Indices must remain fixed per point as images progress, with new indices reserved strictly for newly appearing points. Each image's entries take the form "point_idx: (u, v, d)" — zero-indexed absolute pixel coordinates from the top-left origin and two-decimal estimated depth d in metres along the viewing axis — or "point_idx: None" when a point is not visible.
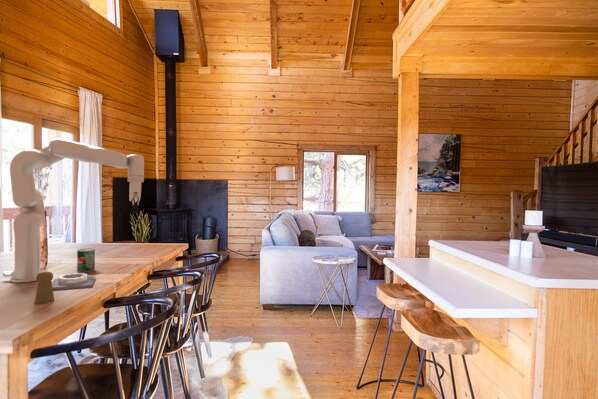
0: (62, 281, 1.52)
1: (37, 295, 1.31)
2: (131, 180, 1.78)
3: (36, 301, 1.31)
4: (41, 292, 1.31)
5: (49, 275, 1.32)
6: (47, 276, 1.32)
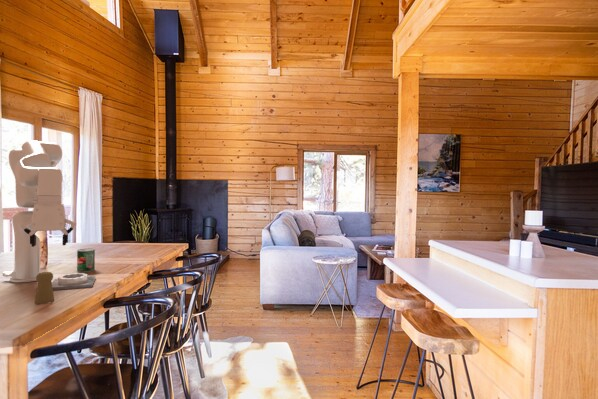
0: (62, 281, 1.52)
1: (37, 295, 1.31)
2: (58, 203, 1.34)
3: (36, 301, 1.31)
4: (41, 292, 1.31)
5: (49, 275, 1.32)
6: (47, 276, 1.32)
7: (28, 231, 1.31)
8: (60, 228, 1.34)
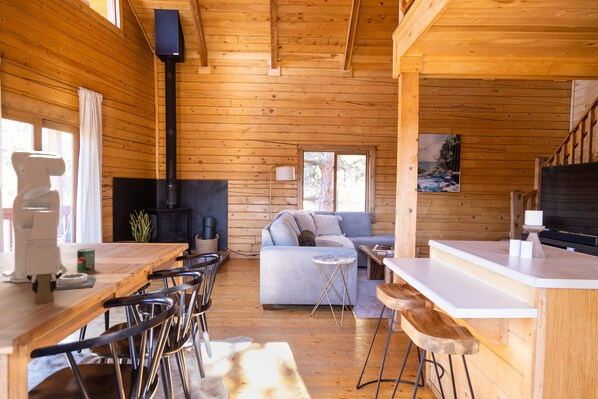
0: (62, 281, 1.52)
1: (37, 295, 1.31)
2: (53, 246, 1.32)
3: (36, 301, 1.31)
4: (41, 292, 1.31)
5: (49, 275, 1.32)
6: (47, 276, 1.32)
7: (30, 278, 1.31)
8: (55, 271, 1.32)
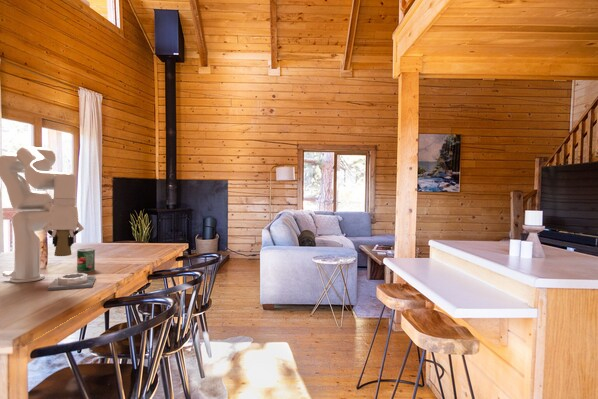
0: (62, 281, 1.52)
1: (56, 248, 1.46)
2: (72, 205, 1.47)
3: (56, 254, 1.46)
4: (60, 246, 1.46)
5: (67, 231, 1.47)
6: (65, 231, 1.47)
7: (51, 233, 1.46)
8: (73, 228, 1.47)
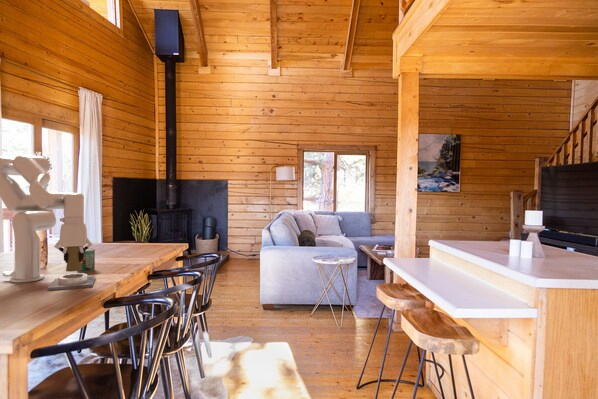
0: (62, 281, 1.52)
1: (68, 264, 1.55)
2: (81, 223, 1.56)
3: (67, 269, 1.55)
4: (71, 262, 1.55)
5: (77, 247, 1.56)
6: (76, 248, 1.56)
7: (62, 250, 1.55)
8: (83, 244, 1.56)
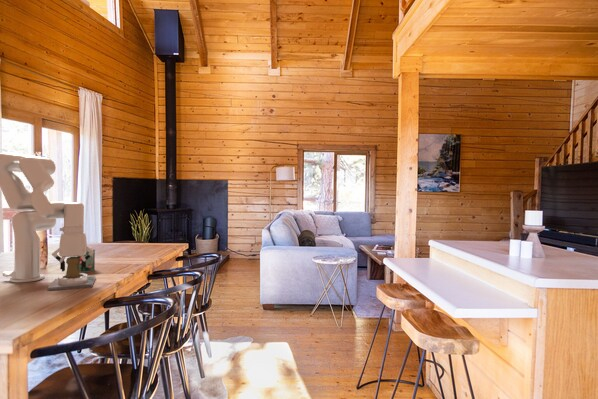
0: (62, 281, 1.52)
1: (67, 276, 1.55)
2: (81, 232, 1.57)
3: None
4: (70, 274, 1.55)
5: (77, 259, 1.57)
6: (75, 259, 1.56)
7: (59, 258, 1.54)
8: (82, 254, 1.57)
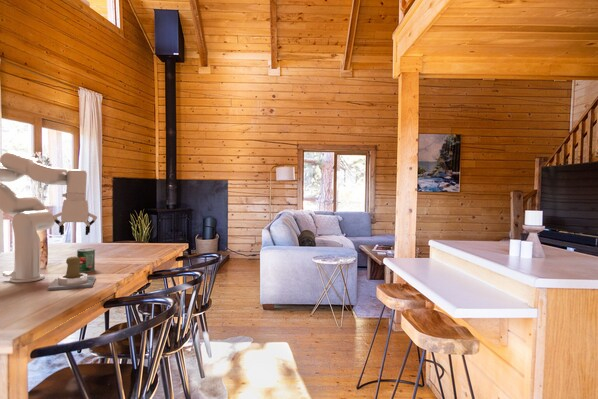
0: (62, 281, 1.52)
1: (67, 276, 1.55)
2: (83, 199, 1.59)
3: None
4: (70, 274, 1.55)
5: (77, 259, 1.57)
6: (75, 259, 1.56)
7: (58, 222, 1.57)
8: (84, 220, 1.59)
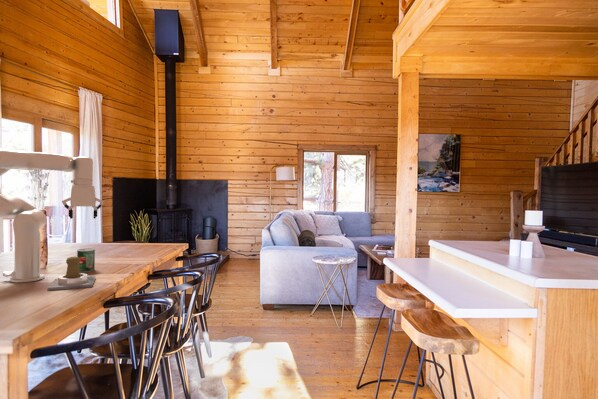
0: (62, 281, 1.52)
1: (67, 276, 1.55)
2: (90, 184, 1.70)
3: None
4: (70, 274, 1.55)
5: (77, 259, 1.57)
6: (75, 260, 1.56)
7: (67, 206, 1.67)
8: (92, 204, 1.70)
